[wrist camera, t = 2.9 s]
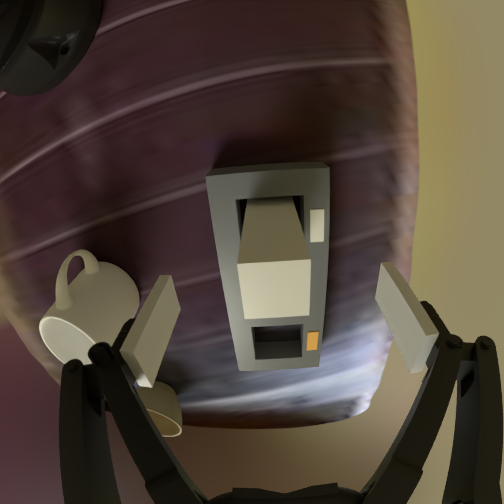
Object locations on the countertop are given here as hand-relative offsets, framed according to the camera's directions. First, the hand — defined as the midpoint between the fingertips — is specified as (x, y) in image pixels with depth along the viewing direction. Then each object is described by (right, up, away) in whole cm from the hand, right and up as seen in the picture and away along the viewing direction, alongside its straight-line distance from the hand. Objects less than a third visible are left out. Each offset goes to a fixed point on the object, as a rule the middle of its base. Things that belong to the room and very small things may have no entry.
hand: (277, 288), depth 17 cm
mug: (-19, -1, +14) cm, 24 cm away
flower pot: (-17, -21, +25) cm, 37 cm away
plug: (0, +6, +10) cm, 11 cm away
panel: (+1, -1, +13) cm, 13 cm away
